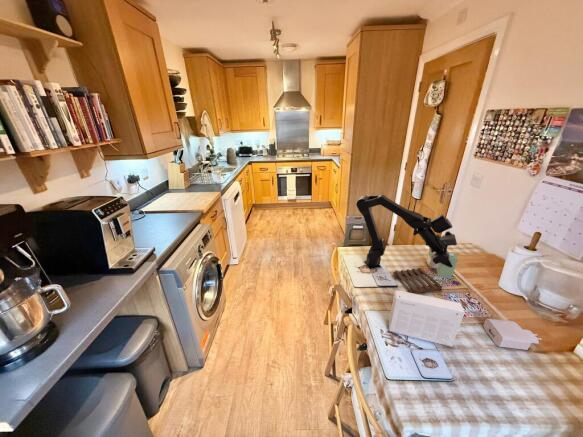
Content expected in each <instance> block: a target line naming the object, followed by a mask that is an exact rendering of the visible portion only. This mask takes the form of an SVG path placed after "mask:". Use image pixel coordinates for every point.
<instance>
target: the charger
mask: <svg viewBox="0 0 583 437" xmlns="http://www.w3.org/2000/svg"><path fill="white" fill-rule="evenodd" d="M483 328H484V330H485V331H486V333H487V335H489V337H490V338H491V340H492V341H493V342H494V344H495V345H496V346H497V347H500V348H508V349H516V350H522V351H523V350H525V351H528V350H529V348H530V347H531V345H532V344H536V345H539V344H540V343H539V341H542V340H543V339H542V338H540V337H537V336H539V335H538V333H533V332H532V331H531V330H529V329H524V328H522V326H520V325H519V323H517V322H515V321H513V320H505V319H496V318H485V320H484V322H483Z"/></svg>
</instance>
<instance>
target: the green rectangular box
mask: <svg viewBox="0 0 583 437" xmlns="http://www.w3.org/2000/svg"><path fill="white" fill-rule="evenodd" d="M447 253H449V260H450V262H451V264H452V266H453V267H451V268H450V267H448V266H446V265H444V264H442V263H439V264H438V267H437V268H436V276H437V277H441V278H445V279H448V280H452V278H453V275H454V272H455V269H456V266H457V264H458V262H459V258H458V254H457V253H456V252H451V251H448V252H447Z"/></svg>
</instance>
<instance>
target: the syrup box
mask: <svg viewBox="0 0 583 437" xmlns="http://www.w3.org/2000/svg"><path fill="white" fill-rule="evenodd" d="M433 254H435V252H433V253H432V252H431V249H430V248H429V250H428V253H427V257H426V259H425V260H426V261H425V262H426V264H427V266H428V267H429V268H431V269H437V267H438V264H439V263H438V264H435V263H434V262H433V261H432V256H433Z"/></svg>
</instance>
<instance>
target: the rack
mask: <svg viewBox="0 0 583 437" xmlns="http://www.w3.org/2000/svg"><path fill="white" fill-rule="evenodd" d="M412 277H413V278H412ZM392 278H394V279H400V280H402V281H403V283H405V284H406V285H407V287H409V288H408V290H407V292H408V293H413V294H418V295H423V294H428V293H435V292H441V291H442V289H443V286H442V284H440V283H439V282H438V281H437V280H435V279H434V278H433V277H432V276H431V275H430V274H429V273H427V272H426V271H425V270H424V269H423V268H422V267H417V268H411V269H409V268H407V269H406V270H405V269H400V270H399V271H398V270H395V271H393V272H392ZM406 278H407V279H406ZM420 278H421V279H420ZM414 279H415V280H414ZM409 281H410V282H411V283H410V282H409ZM430 281H431V282H430ZM424 282H425V283H424ZM413 285H414V286H415V287H414V286H413Z"/></svg>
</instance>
